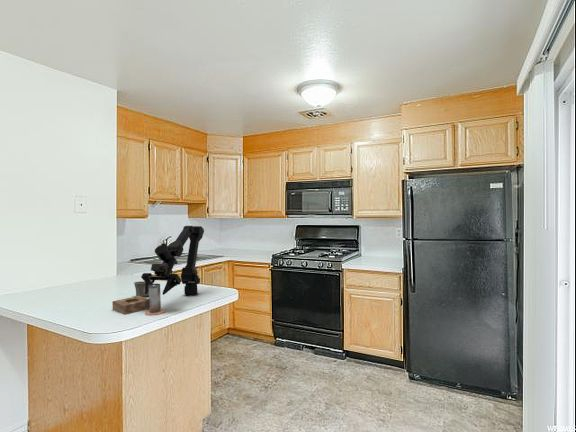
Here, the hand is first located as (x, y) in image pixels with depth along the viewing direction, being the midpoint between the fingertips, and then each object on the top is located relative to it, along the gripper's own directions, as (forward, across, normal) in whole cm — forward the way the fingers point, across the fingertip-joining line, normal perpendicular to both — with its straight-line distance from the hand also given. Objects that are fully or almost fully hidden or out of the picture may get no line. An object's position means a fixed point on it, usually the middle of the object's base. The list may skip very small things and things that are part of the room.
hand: (154, 294), depth 160 cm
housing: (+4, -15, +9) cm, 18 cm away
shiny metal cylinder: (+6, 0, +6) cm, 8 cm away
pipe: (-12, -24, +25) cm, 36 cm away
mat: (+6, 0, +6) cm, 9 cm away
